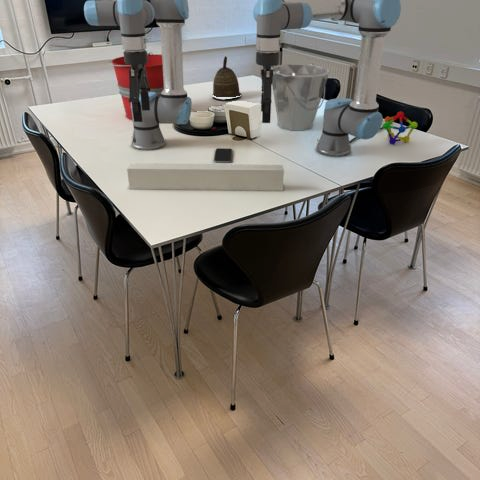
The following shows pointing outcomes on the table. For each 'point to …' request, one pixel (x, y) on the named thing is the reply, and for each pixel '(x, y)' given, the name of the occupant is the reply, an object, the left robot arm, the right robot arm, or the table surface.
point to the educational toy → (398, 128)
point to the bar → (205, 176)
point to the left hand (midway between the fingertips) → (142, 115)
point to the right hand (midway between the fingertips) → (265, 116)
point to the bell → (225, 82)
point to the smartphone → (223, 155)
